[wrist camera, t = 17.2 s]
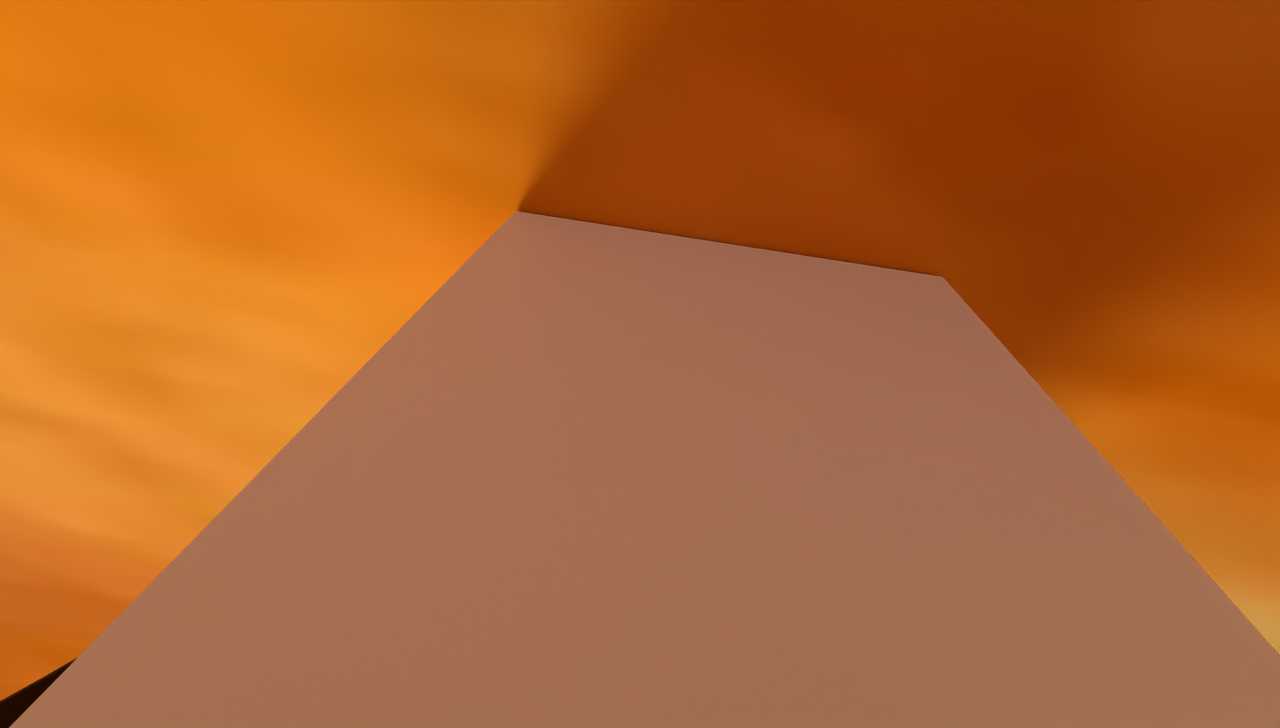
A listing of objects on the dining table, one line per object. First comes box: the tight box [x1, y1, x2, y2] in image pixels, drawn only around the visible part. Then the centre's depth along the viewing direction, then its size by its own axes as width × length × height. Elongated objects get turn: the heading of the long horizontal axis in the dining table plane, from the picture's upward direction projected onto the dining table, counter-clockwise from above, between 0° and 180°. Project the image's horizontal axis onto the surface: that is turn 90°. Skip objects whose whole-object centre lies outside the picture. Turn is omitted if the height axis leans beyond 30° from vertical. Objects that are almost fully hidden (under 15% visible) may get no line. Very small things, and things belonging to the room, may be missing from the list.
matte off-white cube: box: [9, 211, 1280, 728], centre depth 8 cm, size 8×8×9 cm
